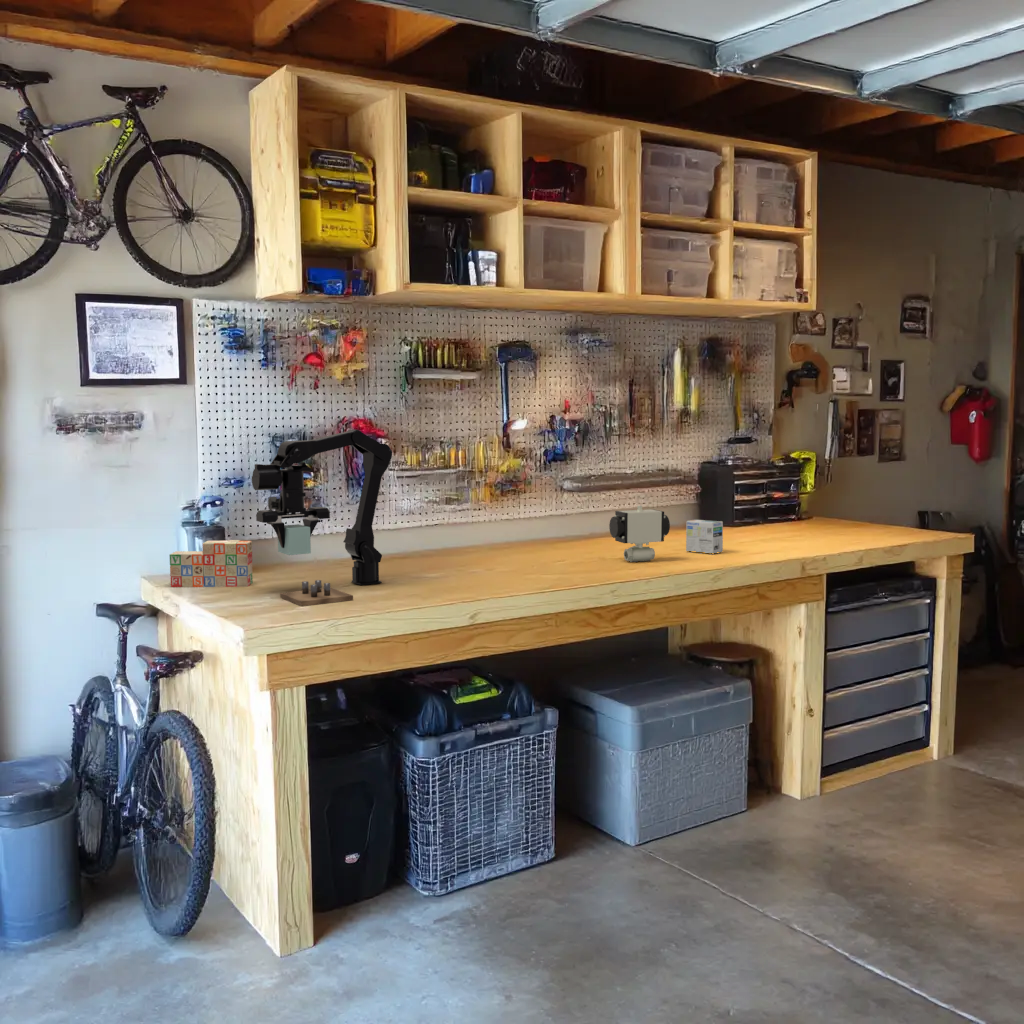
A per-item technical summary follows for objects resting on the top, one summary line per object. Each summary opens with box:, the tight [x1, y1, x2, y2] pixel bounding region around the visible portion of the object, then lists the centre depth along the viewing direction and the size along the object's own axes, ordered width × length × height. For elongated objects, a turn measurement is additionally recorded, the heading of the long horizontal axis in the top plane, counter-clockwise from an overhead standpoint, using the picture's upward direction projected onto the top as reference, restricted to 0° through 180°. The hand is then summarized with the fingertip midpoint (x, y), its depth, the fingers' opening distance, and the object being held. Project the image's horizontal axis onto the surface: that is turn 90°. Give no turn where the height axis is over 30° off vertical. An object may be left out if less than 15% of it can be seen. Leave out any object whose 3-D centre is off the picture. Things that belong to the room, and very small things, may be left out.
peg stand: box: [279, 579, 354, 607], centre depth 260 cm, size 14×14×4 cm
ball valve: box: [608, 505, 671, 563], centre depth 322 cm, size 18×8×18 cm, turn 108°
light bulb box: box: [685, 519, 724, 553], centre depth 341 cm, size 11×7×11 cm, turn 49°
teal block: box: [277, 523, 312, 556], centre depth 271 cm, size 6×8×7 cm
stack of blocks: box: [169, 539, 254, 588], centre depth 282 cm, size 21×6×12 cm, turn 92°
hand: (294, 546), depth 271 cm, fingers closed on teal block, 6 cm apart
